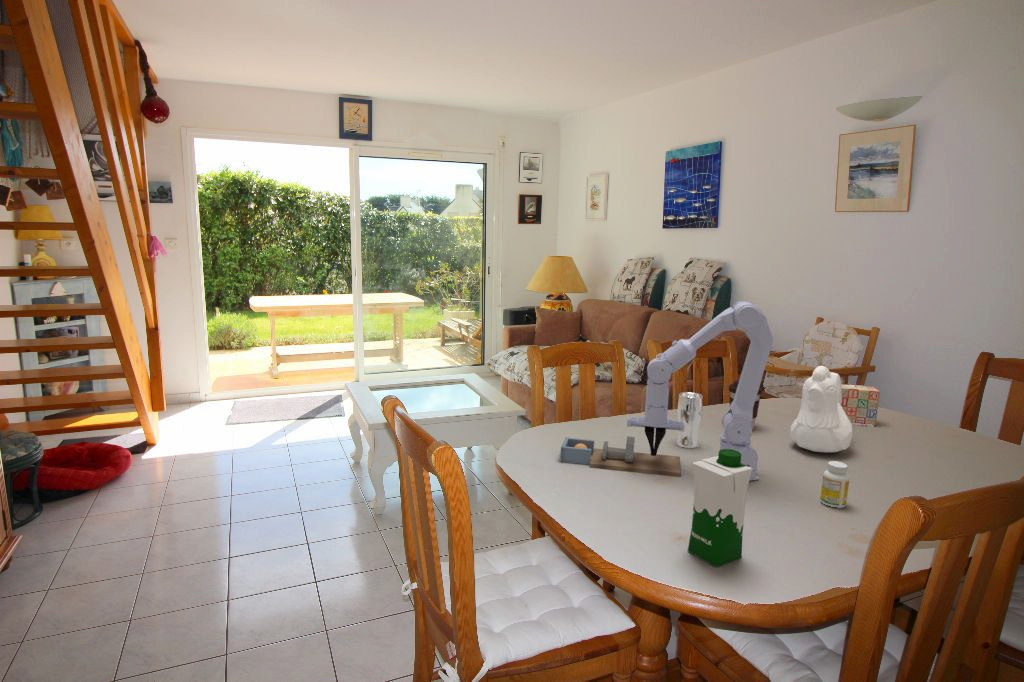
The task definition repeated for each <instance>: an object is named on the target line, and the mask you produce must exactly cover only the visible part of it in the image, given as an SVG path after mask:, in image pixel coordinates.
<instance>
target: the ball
mask: <svg viewBox="0 0 1024 682" xmlns="http://www.w3.org/2000/svg"><path fill="white" fill-rule="evenodd" d="M575 447H576V448H586V449H587V447H586V446H585V445H584V444H577V445H575Z"/></svg>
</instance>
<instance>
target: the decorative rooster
mask: <svg viewBox="0 0 1024 682" xmlns="http://www.w3.org/2000/svg"><path fill="white" fill-rule="evenodd" d="M841 380H842V379H841V377H840V374H839V373H837V372H834V371H833V372H831V371H830V370H829V368H827V366H824V365H818V366H816V367H815V369H814V370H813V371H812V375H811V376H809V377H808V378H806V380H805V381H804V384H803V386H802V394H801V404H800V405H801V406H800V407H799V411H798V414H797V417H796V418H795V419H794V420H793V422H792V424H791V426H790V432H789V434H790V435H789V437H790V440H791V441H793V442H794V443H796V445H797V446H798V447H800V448H802V449H806V450H808V451H811V452H815V453H817V452H818V453H838V452H840V451H845V450H847V449H848V448H849V446H850V444H851V442H852V440H853V425H852V424H851V422H850V420H849V419H848V417H847V415H846V413H845V412H844V410H843V408H842V406H841V403H842V393H841V392H842V385H841V384H842V381H841Z"/></svg>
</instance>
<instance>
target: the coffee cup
mask: <svg viewBox="0 0 1024 682" xmlns="http://www.w3.org/2000/svg"><path fill="white" fill-rule="evenodd" d="M739 380H740V379H737V380H734V381H733V383H731V384H729V385H728V391H729V392H730V393H729V408H730V405H731V403H732V402H733V400H734V397H735V394H736V390H737V387H738V383H739ZM762 394H763V388H762V387H761V386H759V390H758V393H757V396H756V400H755V403H754V406H753V418H752V422H751V428H752V431H753V430H754V429H755V424H756V420H757V417H758V413H759V406H760V396H761V395H762ZM729 408H728V409H729Z"/></svg>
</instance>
